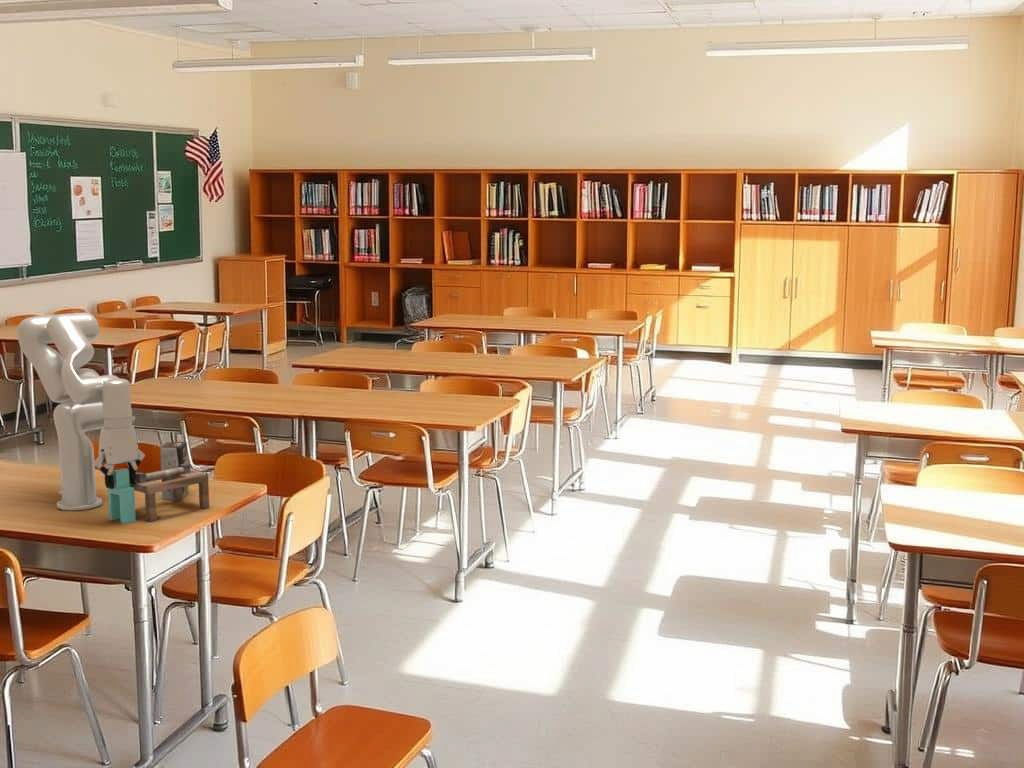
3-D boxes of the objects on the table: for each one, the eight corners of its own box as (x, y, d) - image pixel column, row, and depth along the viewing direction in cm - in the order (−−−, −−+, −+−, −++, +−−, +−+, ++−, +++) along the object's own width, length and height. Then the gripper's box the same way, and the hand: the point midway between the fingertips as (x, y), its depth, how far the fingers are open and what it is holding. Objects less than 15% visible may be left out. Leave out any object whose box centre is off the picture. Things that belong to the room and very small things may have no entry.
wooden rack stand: (120, 512, 329) (118, 471, 327) (178, 499, 345) (177, 459, 343) (150, 521, 320) (148, 479, 318) (209, 507, 335) (207, 466, 334)
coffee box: (183, 499, 345) (181, 447, 342) (161, 499, 344) (159, 447, 342) (189, 492, 354) (187, 441, 351) (168, 492, 353) (166, 441, 351)
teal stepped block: (109, 519, 322) (106, 469, 320) (122, 516, 325) (119, 467, 323) (123, 523, 318) (120, 473, 316) (135, 520, 321) (133, 470, 319)
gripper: (137, 417, 326) (140, 478, 329) (82, 426, 313) (85, 489, 316) (152, 420, 322) (155, 482, 324) (97, 429, 308) (100, 493, 311)
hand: (120, 485), depth 320 cm, fingers open, 6 cm apart
